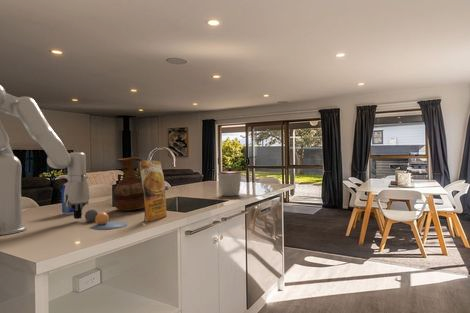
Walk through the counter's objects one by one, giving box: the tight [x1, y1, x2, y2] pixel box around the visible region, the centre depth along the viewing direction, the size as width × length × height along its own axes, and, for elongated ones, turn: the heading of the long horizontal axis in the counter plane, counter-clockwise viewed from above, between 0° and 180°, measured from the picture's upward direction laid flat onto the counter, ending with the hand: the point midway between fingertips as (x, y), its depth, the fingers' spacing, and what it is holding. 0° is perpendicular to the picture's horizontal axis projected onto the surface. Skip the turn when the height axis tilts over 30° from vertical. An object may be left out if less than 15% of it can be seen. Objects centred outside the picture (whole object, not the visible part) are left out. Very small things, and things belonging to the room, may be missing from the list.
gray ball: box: [84, 209, 99, 223], centre depth 138 cm, size 6×6×6 cm
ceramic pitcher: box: [113, 156, 145, 211], centre depth 169 cm, size 20×20×30 cm
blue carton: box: [61, 183, 74, 216], centre depth 159 cm, size 8×8×16 cm
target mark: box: [91, 221, 128, 231], centre depth 129 cm, size 14×14×1 cm
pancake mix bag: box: [138, 159, 168, 222], centre depth 143 cm, size 7×19×28 cm, turn 157°
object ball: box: [95, 211, 110, 225], centre depth 131 cm, size 6×6×6 cm
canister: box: [217, 166, 243, 197], centre depth 222 cm, size 18×18×21 cm
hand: (77, 218), depth 139 cm, fingers closed
